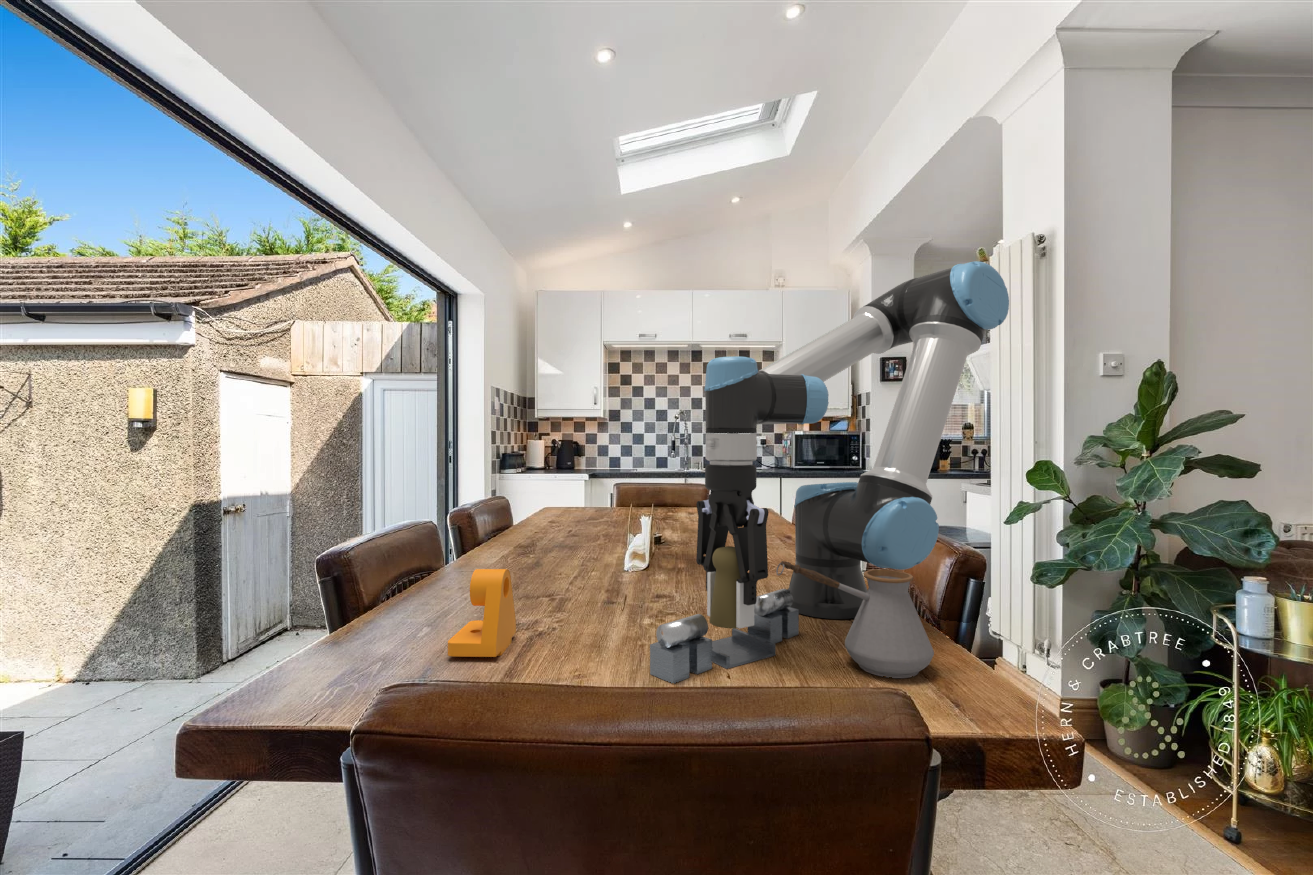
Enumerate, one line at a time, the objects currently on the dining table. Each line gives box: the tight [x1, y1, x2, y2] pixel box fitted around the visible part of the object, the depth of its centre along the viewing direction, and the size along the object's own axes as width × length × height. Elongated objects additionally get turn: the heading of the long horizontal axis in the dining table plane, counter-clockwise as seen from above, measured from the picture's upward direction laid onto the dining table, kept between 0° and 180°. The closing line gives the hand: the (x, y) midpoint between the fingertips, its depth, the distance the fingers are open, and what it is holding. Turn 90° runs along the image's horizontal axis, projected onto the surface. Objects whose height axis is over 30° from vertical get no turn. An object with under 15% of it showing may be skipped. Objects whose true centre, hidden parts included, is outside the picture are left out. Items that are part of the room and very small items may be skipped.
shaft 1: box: [649, 613, 713, 684], centre depth 82 cm, size 8×4×7 cm, turn 133°
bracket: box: [447, 568, 517, 658], centre depth 92 cm, size 11×7×12 cm, turn 178°
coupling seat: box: [712, 628, 777, 670], centre depth 90 cm, size 9×9×2 cm
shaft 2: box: [747, 588, 800, 644], centre depth 97 cm, size 8×4×7 cm, turn 133°
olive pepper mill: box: [709, 545, 741, 629], centre depth 89 cm, size 6×6×11 cm
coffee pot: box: [775, 560, 935, 679], centre depth 83 cm, size 21×12×15 cm, turn 95°
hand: (730, 619), depth 89 cm, fingers closed on olive pepper mill, 6 cm apart
